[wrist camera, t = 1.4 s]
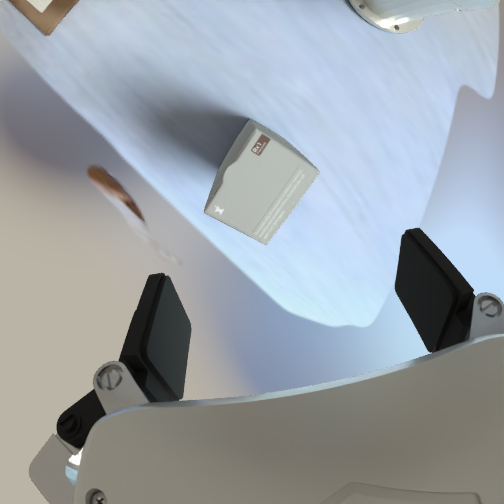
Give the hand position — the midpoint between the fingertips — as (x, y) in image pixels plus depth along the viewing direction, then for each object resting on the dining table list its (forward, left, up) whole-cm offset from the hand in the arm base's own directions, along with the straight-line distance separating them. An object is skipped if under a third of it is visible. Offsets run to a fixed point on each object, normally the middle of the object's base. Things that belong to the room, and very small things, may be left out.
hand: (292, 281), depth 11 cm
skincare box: (+1, +1, -29) cm, 29 cm away
